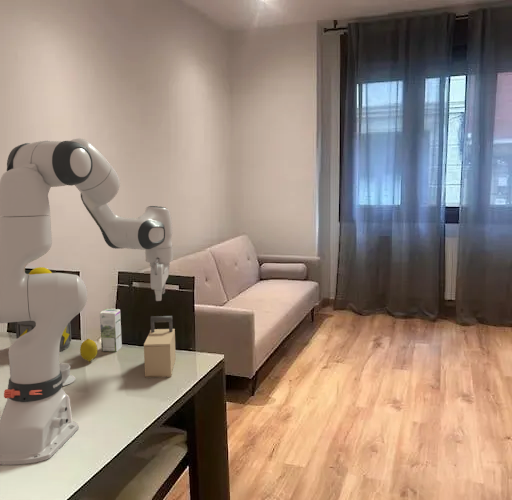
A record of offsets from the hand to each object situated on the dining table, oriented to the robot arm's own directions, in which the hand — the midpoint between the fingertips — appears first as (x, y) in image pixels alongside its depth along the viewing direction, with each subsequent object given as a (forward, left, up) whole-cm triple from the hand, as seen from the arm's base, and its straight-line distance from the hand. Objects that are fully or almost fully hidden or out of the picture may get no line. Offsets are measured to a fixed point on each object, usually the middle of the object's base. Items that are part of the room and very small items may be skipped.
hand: (160, 296), depth 169 cm
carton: (-5, 0, -23) cm, 23 cm away
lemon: (+3, +25, -23) cm, 34 cm away
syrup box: (+15, +20, -23) cm, 34 cm away
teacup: (-14, +30, -23) cm, 40 cm away
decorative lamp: (+19, +45, -23) cm, 54 cm away
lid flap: (-5, 0, -12) cm, 13 cm away
